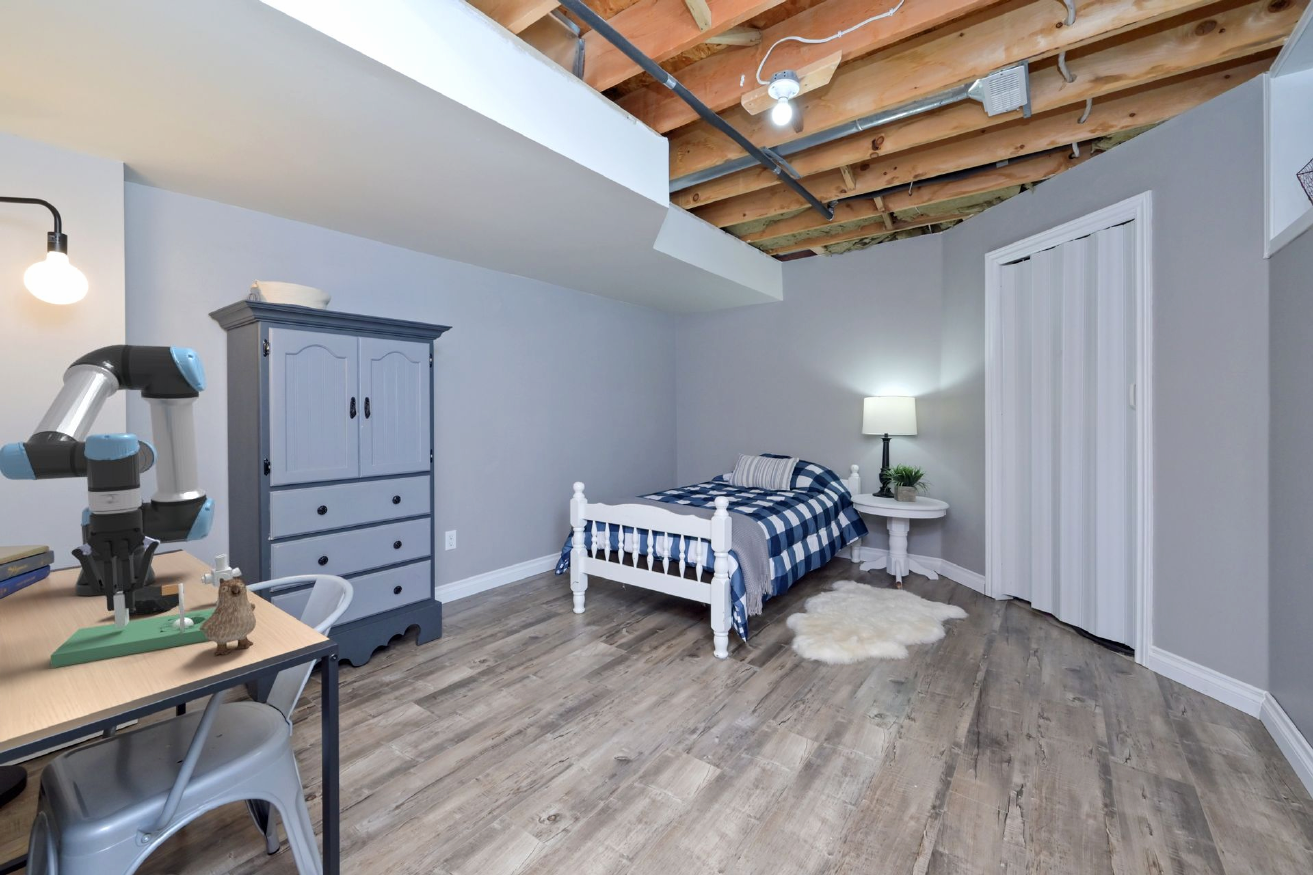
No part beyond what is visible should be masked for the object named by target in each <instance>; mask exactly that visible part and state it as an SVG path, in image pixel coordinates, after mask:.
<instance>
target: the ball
mask: <svg viewBox="0 0 1313 875" xmlns="http://www.w3.org/2000/svg"><path fill="white" fill-rule="evenodd" d="M184 619H185V626H191V625H194V623H193V621H192V620H191V619H190V618H184ZM172 626H173V627H180V619H178V620H176V621H175V622H174V623H173V625H172Z"/></svg>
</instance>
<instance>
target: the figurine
mask: <svg viewBox="0 0 1313 875" xmlns="http://www.w3.org/2000/svg"><path fill="white" fill-rule="evenodd" d="M242 578H243V575H239V576H236V578H233V579H230V580H224V579H223V578H220V587H219V588H218V592H217V597H218V596H219V603H218V606H216V607H215V608H216V609H215V608H214V609H215V611H214V613H213V614H212V615H211V617H210V618H209V619H207V620H206V621H205V622H204V623H203V624H202V626H201V627H200V629H199V630H205V635H206V637H207V639H209V641H212V642H214V643H216V644H217V645H216V650H215V652H214V653H213V656H217V655H227V654H228V653H229V652H230V651H231V649H230V648H228V647H227V646H228V645H227V643H231V642H235V641H237V645H236V647H235V648H234V650H240V649H241V650H242V649H249V647H250V646H251V645H254V642H252V641H251V640H249V638H248V637H247V636H248V635H250V634H251V633H252V632H253V631H254V629H255V628H256V625H257V624H256V623H257V619H256V615H255V613H254V611H255V609H256V605H255V603H253V602H250V601H249V599H248V595H247V586H246V583H244V582H243V581H242Z"/></svg>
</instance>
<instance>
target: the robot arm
mask: <svg viewBox="0 0 1313 875" xmlns="http://www.w3.org/2000/svg"><path fill="white" fill-rule="evenodd" d="M204 368H205V367H204V364H203V362H202V360H201V358H200V355H199V354H198V353H197V352H196V350H194V349H193V348H188V347H179V346H174V345H173V346H162V345H161V346H160V345H131V344H113V345H112V344H111V345H106V346H104V347H100V348H97V349H95V350H92V351H90V352H87V353H86V354H84V355H81V357H79V358H77V359H75V360H74V362H72V363H71V364H69V366H68V368H67V369H66V370H65V372H64V373H63V376H62V380H63V381H62V382H63V383H64V385H63V386H62V388H61V389H60V391H59V392H58V394H57V395H56V397H55V399H54V400H53V402H52V403H51V405H50V406H49V407H48V409H47V411H46V413H45V414H44V416H43V417H42V419H41V421H40V422H39V424H38V425H37V427H36V428H35V430H34V431H33V433H32V435H31V436H30V437H29V439H28V440H27V441H26V442H24V441H19V442H11V443H10V442H9V443H7V444H4V445H3V446H2V447H1V449H0V473H1V474H2V476H3V477H4V478H6V479H8V480H17V481H18V480H19V481H20V480H22V481H23V480H29V481H30V480H33V481H37V480H52V479H54V480H55V479H70V478H71V479H72V478H74V479H75V478H86V480H87V481H86V482H87V498H88V500H87V504H88V505H87V507H85V508H83V510H82V512H81V523H80V527H81V538H82V539H81V540H82V545H81V546H78V547H76V548H74V549H73V550H72V551H71V555H72V556H74V558H76V559H77V561H78V562H79V563H80V565H81V569H80V571H79V574H78V577H77V580H76V582H75V590H74V591H75V594H76V595H78V596H84V597H85V596H86V597H87V596H89V597H90V596H91V597H92V596H102V595H104V596H106V608H107V610H108V612H111V611H112V612H113V611H114V624H115V628H116V627H123V626H126V625H127V624H128V622H129V621H130V615H129V609H128V608H132V607H133V606H134V604H135V594H134V591H135V590H137V589H141V588H142V587H144V586H150V585H151V584H152V583H154V582H155V581H156V574H155V570H154V569H153V567H152V562H153V559H154V555H155V552H156V550H157V548H158V547H159V546H160V545H162V544H163V545H164V544H173V543H183V542H186V543H189V542H192V541H194V542H195V541H199V540H205V538H208V536H209V534H210V532H211V530H212V526H213V522H214V521H213V520H214V515H215V499H214V498H212V497H207V491H206V490H204V489H203V488H201V487H200V485H199V476H198V474H199V473H198V463H197V460H198V459H197V448H196V434H195V421H194V420H195V419H194V407H193V404H194V402H195V401H197V400H198V399H199V398H200V394H199V393H200V392H204V391H205V390H206V388H207V382H206V381H207V380H206V379H207V378H206V373H205V369H204ZM127 390H130V391H140V395H141V397H140V398H141V399H143V400H144V401H146V403H149V409H150V421H151V422H150V423H151V431H152V432H151V434H152V441H153V442H152V444H153V445H152V444H151V443H149V442H147V441H145V440H143V439H142V440H141V439H138V436H137V435H136V434H134V433H127V432H126V433H125V432H123V433H120V432H119V433H116V432H115V433H95V434H90V435H88V434H89V432H90V430H91V428H92V426H93V425H94V423H95V421H96V419H97V417H98V416H99V413H100V411H101V410H102V409H103V406H104V405H105V402H106V400H107V399H108V398H109V397H112V396H114V395H115V394H116V393H117V391H127ZM87 435H88V436H87ZM154 465H155V476H156V489H157V490H156V492H154V493H153V494H152V495H151V496H150V502H149V501H148V502H145V501H144V499H143V498H142V490H141V489H142V488H141V474H143V473H145V472H148V471H150V469H151V468H152V467H154Z"/></svg>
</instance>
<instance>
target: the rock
mask: <svg viewBox="0 0 1313 875" xmlns="http://www.w3.org/2000/svg"><path fill="white" fill-rule="evenodd" d="M162 586H163V585H156V586H155V585H146V586H143V587H142V588H141V589H137V590H135V591H134V594H135V604H134V606H133V607H132V608H128V609H129V616H133V615H141V614H143V615H148V614H149V615H150V614H157V613H158V614H161V613H166V612H169V611H170V610H171V609H172V608H175V607H177V606H179V593H177V594H169V595H162ZM184 593H185V592H184V590H183V594H184Z"/></svg>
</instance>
